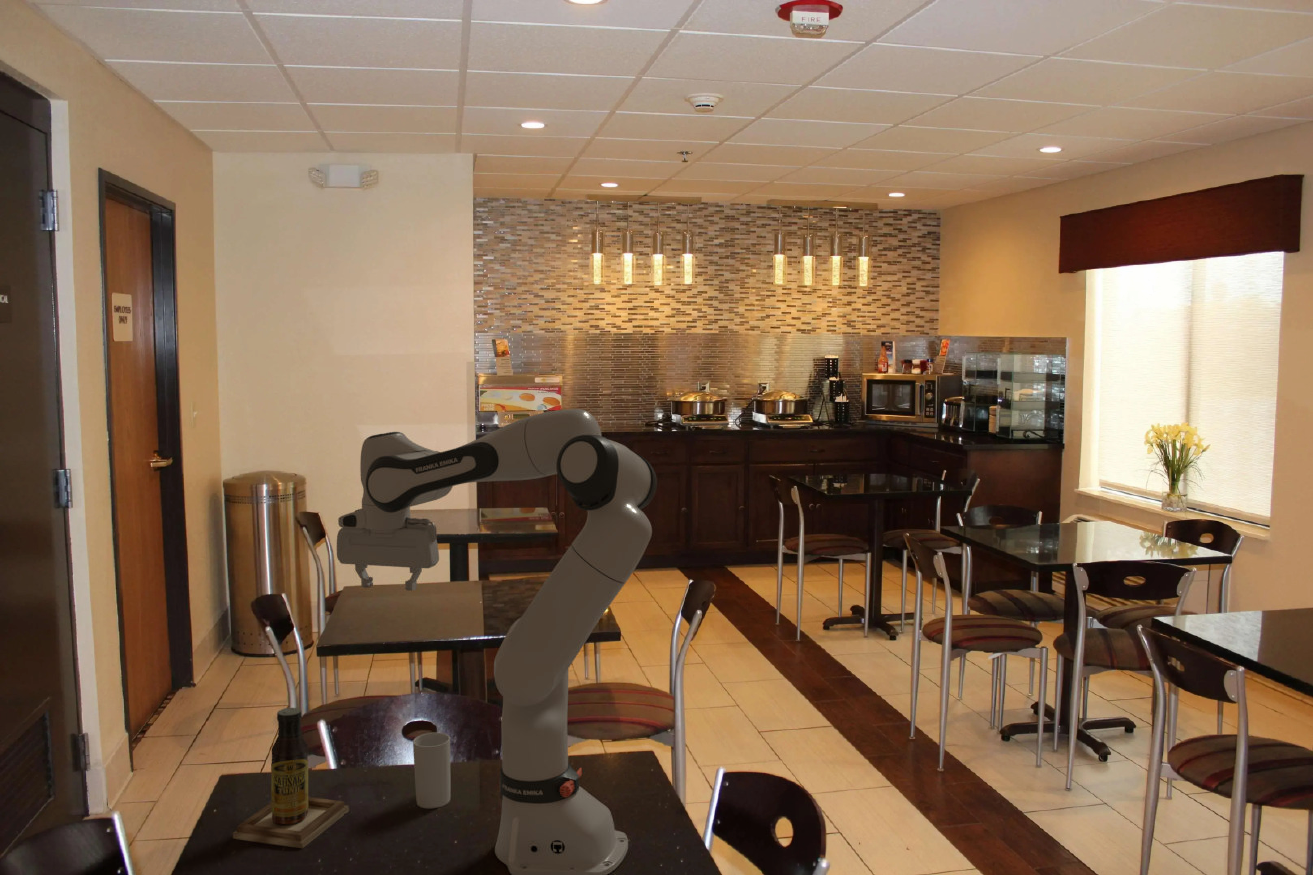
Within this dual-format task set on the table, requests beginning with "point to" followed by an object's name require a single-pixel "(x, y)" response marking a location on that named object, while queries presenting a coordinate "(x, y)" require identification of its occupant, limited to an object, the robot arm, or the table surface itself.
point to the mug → (432, 769)
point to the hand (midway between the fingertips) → (389, 588)
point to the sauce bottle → (289, 770)
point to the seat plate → (295, 834)
